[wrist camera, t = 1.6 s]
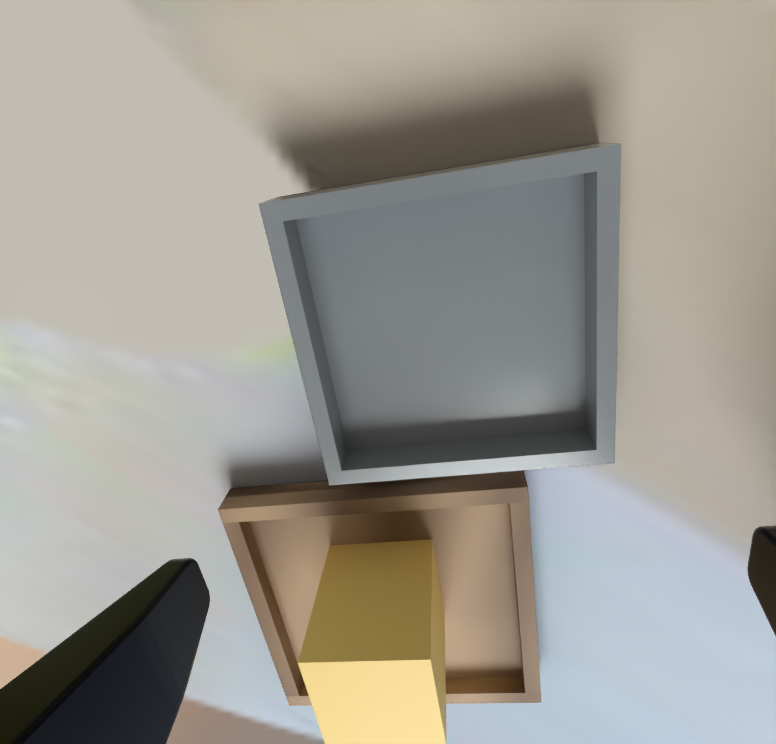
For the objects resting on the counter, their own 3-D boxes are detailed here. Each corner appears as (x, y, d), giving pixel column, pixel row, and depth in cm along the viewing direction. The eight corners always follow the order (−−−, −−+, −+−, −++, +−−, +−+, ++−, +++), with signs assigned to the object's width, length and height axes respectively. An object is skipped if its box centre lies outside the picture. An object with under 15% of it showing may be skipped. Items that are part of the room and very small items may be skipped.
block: (432, 539, 22) (430, 659, 17) (444, 615, 23) (446, 744, 18) (329, 545, 22) (297, 662, 17) (349, 619, 24) (325, 744, 19)
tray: (522, 465, 20) (527, 487, 19) (536, 674, 25) (541, 702, 24) (230, 488, 22) (218, 509, 21) (296, 679, 27) (289, 705, 26)
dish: (599, 142, 15) (620, 143, 14) (598, 433, 19) (614, 463, 18) (278, 196, 17) (258, 204, 15) (338, 455, 21) (329, 485, 19)
